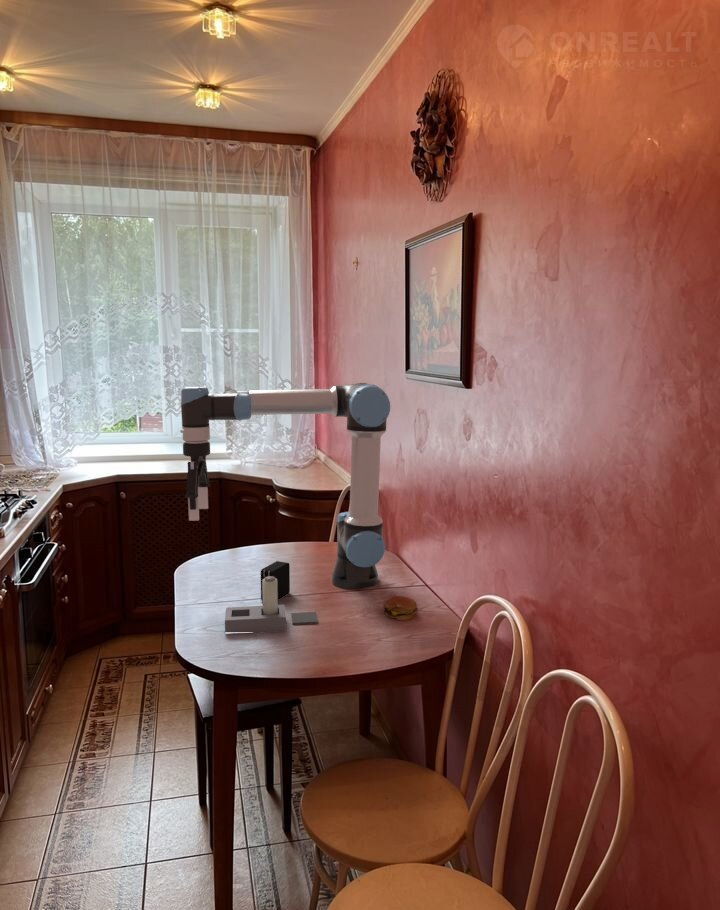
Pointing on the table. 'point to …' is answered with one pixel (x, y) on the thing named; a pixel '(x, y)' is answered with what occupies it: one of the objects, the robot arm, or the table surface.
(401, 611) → the burger
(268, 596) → the plug
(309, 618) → the coaster
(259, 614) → the gray cinder block
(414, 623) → the table surface
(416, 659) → the table surface
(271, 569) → the electronic device
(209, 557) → the table surface
